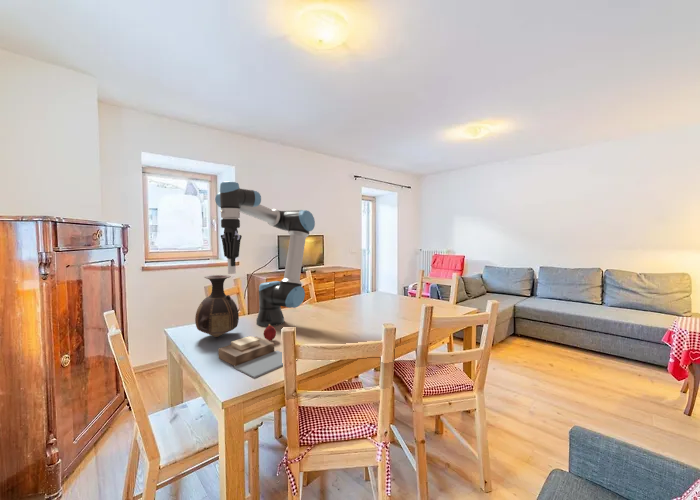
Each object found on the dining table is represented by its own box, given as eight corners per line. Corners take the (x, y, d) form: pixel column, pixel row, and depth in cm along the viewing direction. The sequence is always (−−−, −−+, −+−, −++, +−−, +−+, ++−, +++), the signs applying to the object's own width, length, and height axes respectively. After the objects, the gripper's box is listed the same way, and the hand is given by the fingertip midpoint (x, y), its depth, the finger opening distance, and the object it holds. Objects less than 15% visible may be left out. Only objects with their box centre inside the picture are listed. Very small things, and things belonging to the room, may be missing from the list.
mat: (277, 351, 132) (277, 350, 132) (297, 359, 124) (297, 358, 124) (234, 368, 116) (234, 366, 116) (254, 378, 108) (254, 376, 108)
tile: (250, 340, 135) (250, 335, 134) (259, 343, 130) (259, 339, 130) (231, 346, 128) (231, 341, 127) (240, 350, 123) (240, 345, 123)
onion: (278, 340, 145) (278, 324, 144) (268, 344, 141) (267, 327, 140) (271, 338, 149) (271, 321, 148) (261, 341, 144) (260, 324, 144)
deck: (256, 345, 140) (256, 336, 139) (274, 352, 131) (274, 343, 131) (218, 358, 126) (218, 348, 125) (235, 366, 117) (235, 356, 117)
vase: (206, 348, 136) (203, 281, 134) (185, 339, 148) (182, 277, 146) (250, 334, 154) (249, 275, 152) (229, 326, 166) (227, 271, 164)
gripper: (214, 218, 132) (215, 273, 134) (230, 218, 124) (231, 275, 126) (230, 219, 138) (231, 271, 140) (246, 218, 130) (248, 273, 131)
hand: (231, 273), depth 133 cm, fingers closed
